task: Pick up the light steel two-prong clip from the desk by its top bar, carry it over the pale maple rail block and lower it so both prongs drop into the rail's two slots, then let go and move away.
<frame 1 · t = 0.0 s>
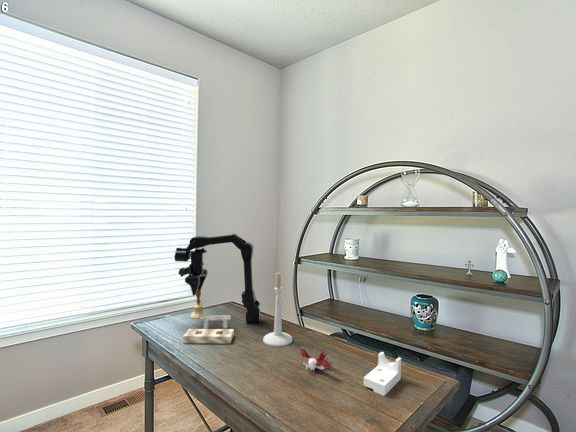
hand: (196, 292, 161), 15 cm above the table, tool pointing down, fingers open, 9 cm apart
candlestick: (277, 340, 140), on the table
maple rail: (209, 339, 140), on the table
bracket: (382, 384, 107), on the table
figurine: (317, 369, 116), on the table
steel clip: (215, 328, 152), on the table
hand bell: (198, 316, 169), on the table
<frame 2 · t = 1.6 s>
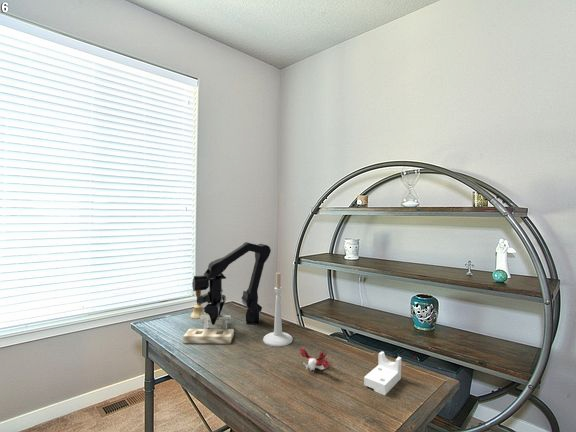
hand: (215, 321, 152), 4 cm above the table, tool pointing down, fingers open, 9 cm apart
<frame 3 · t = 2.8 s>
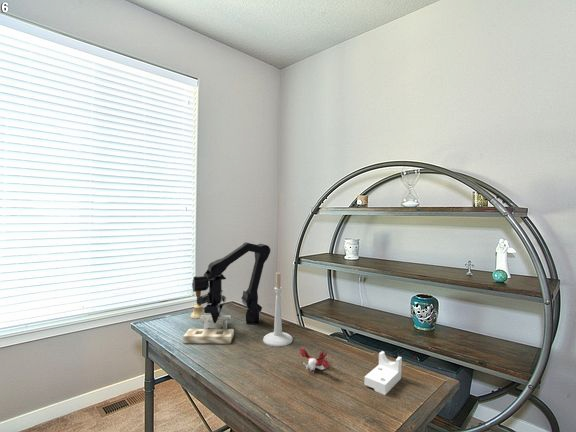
hand: (215, 321, 152), 3 cm above the table, tool pointing down, fingers closed on steel clip, 2 cm apart
steel clip: (215, 328, 152), on the table, touching gripper
everything else where it was.
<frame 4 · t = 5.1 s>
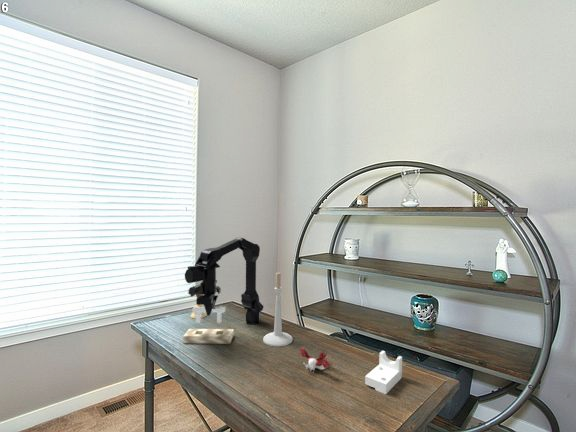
hand: (209, 314, 140), 11 cm above the table, tool pointing down, fingers closed on steel clip, 2 cm apart
steel clip: (209, 321, 140), point 8 cm above the table, touching gripper
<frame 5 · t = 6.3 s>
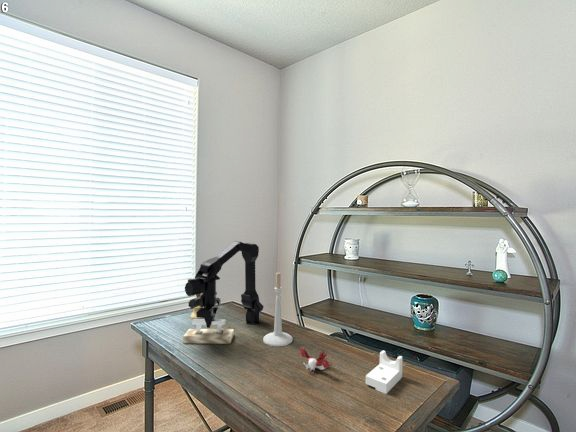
hand: (209, 326, 140), 6 cm above the table, tool pointing down, fingers closed on steel clip, 2 cm apart
steel clip: (209, 333, 140), point 2 cm above the table, touching gripper
when the fingers open (4 cm above the table, at t = 7.3 s): steel clip stays where it is, resting in maple rail.
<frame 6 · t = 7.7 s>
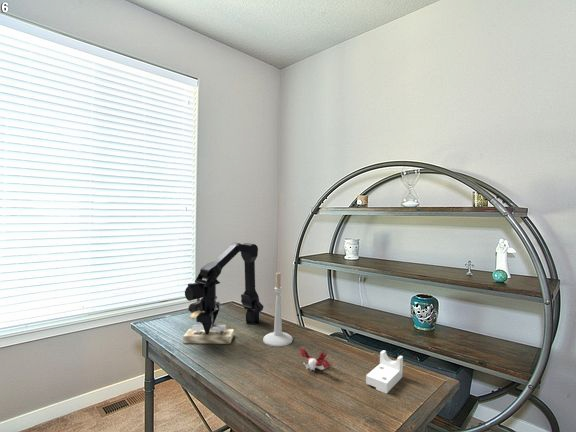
hand: (209, 330, 140), 4 cm above the table, tool pointing down, fingers open, 7 cm apart
steel clip: (209, 339, 140), resting in maple rail
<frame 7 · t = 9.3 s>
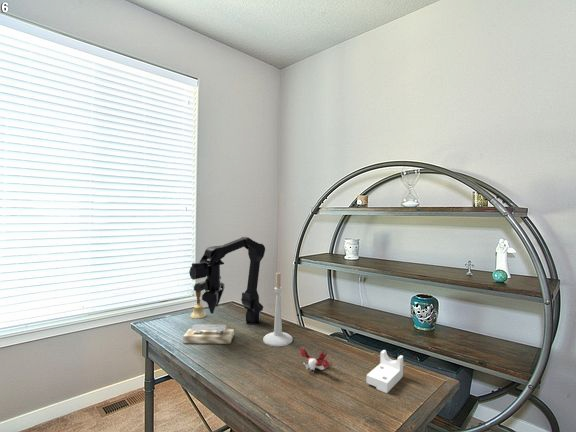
hand: (214, 309, 144), 12 cm above the table, tool pointing down, fingers open, 9 cm apart
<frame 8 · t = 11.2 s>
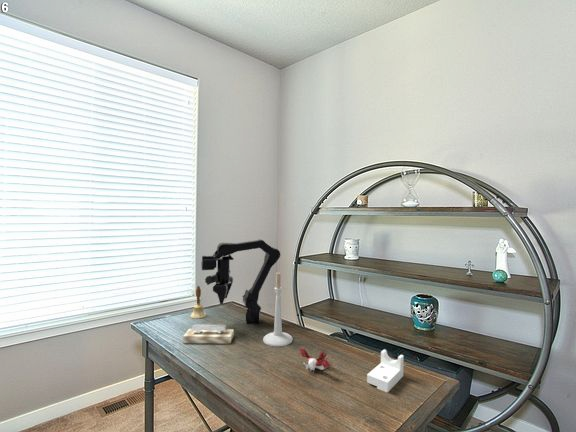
hand: (223, 301, 156), 12 cm above the table, tool pointing down, fingers open, 9 cm apart
at the end: steel clip 0.1 cm off-centre on the maple rail, point 0.0 cm above the maple rail's base; steel clip tilted 0°; the gripper is holding nothing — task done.
